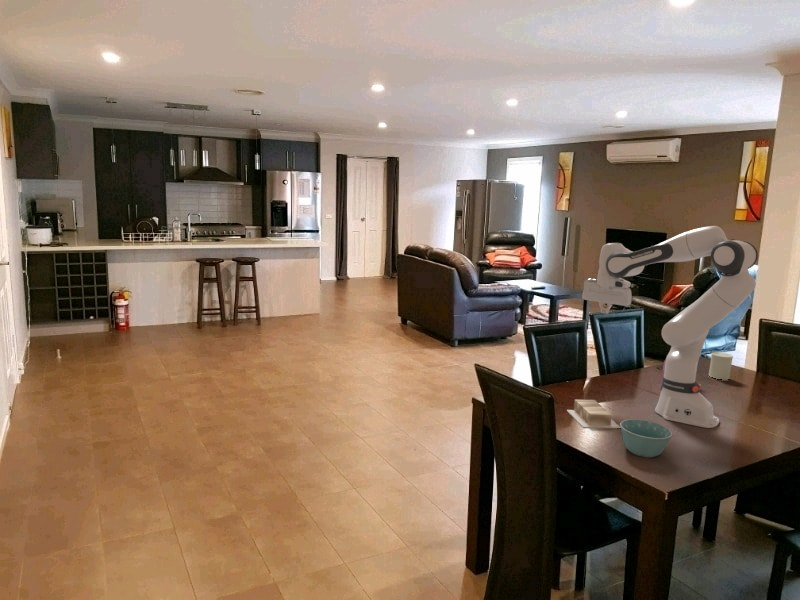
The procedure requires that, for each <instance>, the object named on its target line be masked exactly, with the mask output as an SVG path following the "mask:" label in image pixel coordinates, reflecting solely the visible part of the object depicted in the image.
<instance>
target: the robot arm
mask: <svg viewBox="0 0 800 600" xmlns="http://www.w3.org/2000/svg"><path fill="white" fill-rule="evenodd" d="M705 257H710V260H711V263H712V264H713V265H714V267H715V269H716V270H717V272H718V274H719V275H720V276H721V278H720V279H719V280H718V281H717V282H715V283H714V284H712V286H711V287H710V288H709V289H707V291H705V292H704V293H703V294H702V295H701V296H700V297H698V299H696V300H695V301H694V302H692V303H690V305H688V306H687V307H685V308H684V309H683V310H682V311H680V312H679V313H678V314H676V315H675V316H674V317H672V318H671V319H670V320H669V321H668V322H666V323H665V324H664V325H663V327H662V329H661V338H662V339H663V342H665V343H666V344H667V345H669V346H671V347H670V350H669V352H668V354H667V355H666V358H665V360H666V364H665V371H664V376H663V378H662V377H661V379H662V382H661V381H660V387H661V390H660V394H659V398H658V401H657V404H656V407H655V409H654V412H655V413H656V414H658V415H659V416H661V417H662V418H663V419H665V420H668V421H672V422H677V423H682V424H685V425H686V424H687V425H691V426H695V427H701V428H704V429H705V428H706V429H709V428H710V429H711V428H716V427H717V426H718V425H719V423H720V419H719V417H717V416H715V415H714V406H713V404H712V403H711V402H710V401H709V400H708V399H707V398H706V397H704V395H702V393H701V392H700V391H701V385H702V384H701V383H698V382H697V381H696V378H697V370H698V364H699V359H700V357H701V354H702V351H703V348H704V344H705V341H706V339H707V336H708V334H709V332H710V329H711V328H713V327H714V326H716V325H717V324H719V323H720V322H722V320H724V319H725V318H726V317H727V316H729V314H731V313H732V312H733V311H735V310H736V309H737V308H738V307H739V306H740V305H741V304H743V303H744V301H746V300H747V298H748V297H749V296H750V295H751V294H752V293H753V291H754V290H755V289H756V285H757V283H756V280H755V278H754V277H753V275H752V274H750V272H749V270H750V269H751V268H752V267H754V266H755V265H756V263H757V261H758V260H759V251H758V249H757V248H756V247H755V245H753V244H752V243H750V242H748V241H743V240H739V239H733V238H731V239H728V237H727V236H726V233H725V232H724V230H723V229H722V228H721V227H720V226H718V225H709V226H707V225H706V226H702V227H698V228H694V229H691V230H687V231H684V232H682V233H679V234H677V235H675V236H672V237H670V238H668V239H666V240H664V241H662V242H659V243H658V244H655V245H651V246H650V247H645V248H642V249H639V250H635V251H632V250H630V249H629V248H626V247H625V246H624V245H623V243H620V242H611V243H610V242H608V243H605V244H604V245H602V247H601V250H600V255H599V260H598V264H599V265H598V266H599V269H598V272H597V278H596V279H595V278H587V279H584V281H583V291H582V295H581V297H582V299H583V300H585V301H589V302H598V305H599V309H600V313H601V314H608V315H609V313H610V309H611V308H612V307H613V305H618V306H624V307H629V306H630V305H632V299H633V297H632V289H631V288H630V287H631V286H632V284H631V282H630V281H629V280H626V279H624V277H625V278H626V277H633V276H637V275H640V274H641V273H643V271H645V270H644V269H645V267H646V266H648V265H651V264H656V263H657V264H658V263H682V262H683V263H684V262H691V261H695V260H698V259H702V258H705ZM605 304H606V305H607V307H606V308H604V305H605Z"/></svg>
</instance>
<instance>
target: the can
mask: <svg viewBox="0 0 800 600" xmlns="http://www.w3.org/2000/svg"><path fill="white" fill-rule="evenodd" d="M733 358H734V356H733V355H732V354H729V353H725V352H713V351H712V352H711V357H710V362H709V363H710V364H709V370H708V375H709V376H710V377H713V378H716V379H715V380H717V379H722V380H721V381H728V380H727V379H731V378H730V377H731V370H732V363H733ZM709 376H708V377H709ZM710 377H709V378H710ZM713 378H712V379H713Z"/></svg>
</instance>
